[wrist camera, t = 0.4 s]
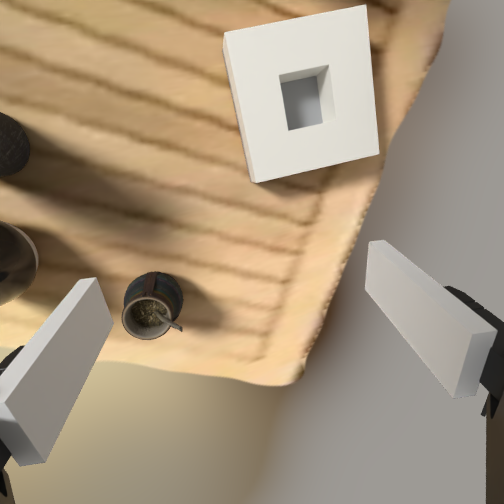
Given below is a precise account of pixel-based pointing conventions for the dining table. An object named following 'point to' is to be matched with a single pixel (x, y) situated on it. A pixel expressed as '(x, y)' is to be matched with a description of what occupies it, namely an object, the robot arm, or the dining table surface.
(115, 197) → the dining table surface
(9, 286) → the pump dispenser
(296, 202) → the dining table surface
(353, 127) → the hole block
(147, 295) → the mate gourd
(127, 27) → the dining table surface
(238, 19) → the dining table surface
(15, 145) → the travel mug
